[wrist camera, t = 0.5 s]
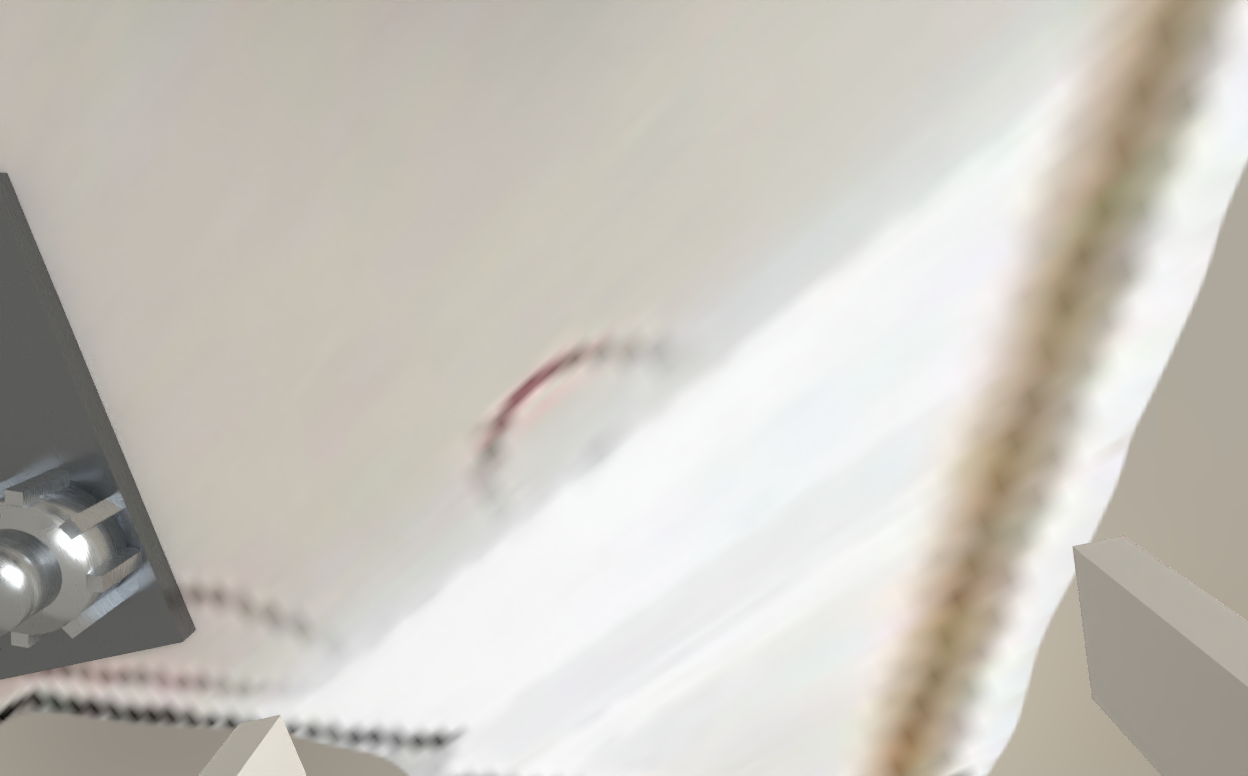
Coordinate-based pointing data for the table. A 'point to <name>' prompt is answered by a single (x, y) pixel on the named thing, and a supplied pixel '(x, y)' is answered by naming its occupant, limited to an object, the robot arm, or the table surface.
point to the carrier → (66, 491)
